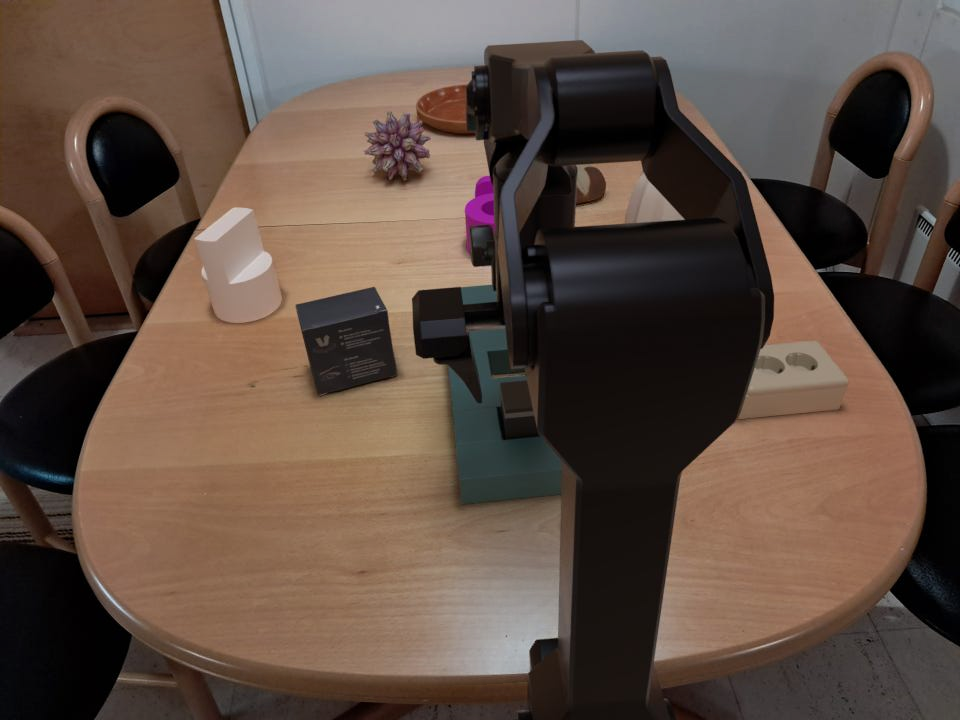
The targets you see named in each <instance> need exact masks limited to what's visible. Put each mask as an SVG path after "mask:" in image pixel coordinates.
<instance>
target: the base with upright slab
mask: <svg viewBox="0 0 960 720" xmlns="http://www.w3.org/2000/svg"><path fill="white" fill-rule="evenodd" d="M194 242H195V245H196V248H197V251H198V254H199V257H200V260H201V263H202V268H201V271H200V272H201V277H202V281H203V283H204V285H205V289H206V292H207V295H208V298H209V300H210V303H211V306H212V309H213V313H214V315H215V316H216V317H217V319H219V320H221V321H223V322H225V323H231V324H243V323H246V324H247V323H251V322H255V321H259V320H261V319H264V318H266V317H268V316H269V315H272V314H273V313H274V312H275V311H277V310H278V309H279V308H280V306H281V304H282V301H283V295H282V292H281V288H280V284H279V281H278V280H279V279H278V277H277V276H278V275H277V273H276V269H275V266H274V261H273V258H272V255H271V254H270V253H269V252H268V251H266V250H265V249H264V245H263V241H262V238H261V234H260V230H259V225H258V223H257V219H256V216H255V212H254V209H252V208H247V207H232V208H230V209H229V210H228V211H227V212H226V213H224V214H223V215H222V216H220V218H218V219H217V220H215V221H214V222H213V223H212V224H211V225H209V226H208V227H207V228H205V229H204V230H203V231H202V232H201V233H199V234H198V235H197V236H196V237H194Z"/></svg>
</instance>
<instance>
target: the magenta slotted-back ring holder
mask: <svg viewBox="0 0 960 720" xmlns="http://www.w3.org/2000/svg"><path fill="white" fill-rule="evenodd" d="M474 188H475V189H474V198H472V199H470V200H469V201H468V202H467V203H466V204H465V206H464V219H465V237H466V250H467V253H468V254H469V255H470V256H471V253H470V238H469V226H477V225H490V226H491V227H492V229H493V233H495V228H494V195H493V185H492V183H491V179H490V175H483V176H481V177H480V178H479V179H478V180H477V181H476V183H475V187H474Z"/></svg>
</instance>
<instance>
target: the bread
mask: <svg viewBox="0 0 960 720" xmlns="http://www.w3.org/2000/svg"><path fill="white" fill-rule="evenodd" d="M576 166H577V170H578V172H577V192H576V205H579V204H581V203H586V202H591V201H595V200H597V199H598V200H599V199H600V198H601V197H602V196H603V195H604V194H605V192H606V189H607V182H606V178H605V176H604V174H603V173H602V171H601V170H600V169H599V168H598V167H596V166H595V167H594V166H592V164H585V165H576Z"/></svg>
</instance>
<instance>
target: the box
mask: <svg viewBox="0 0 960 720" xmlns="http://www.w3.org/2000/svg"><path fill="white" fill-rule="evenodd" d="M295 310H296V315H297V318H298V319H297V320H298V323H299V327H300V330H301V335H302V339H303V344H304V348H305V351H306V355H307V359H308V363H309V368H310V372H311V375H312V379H313V382H314V383H313V384H314V387H315V390H316V392H317V396H319V397H323V396H326V395H327V394H328V393H333V392H336V391H338V392H339V391H342V390H344V389H348V388H352V387H356V386H360V385H364V384H367V383H372V382H374V381H380V380H383V379H387V378H393V377H396V376H397V375H398V370H397V369H398V368H397V364H396V358H395V353H394V347H393V341H392V340H393V339H392V335H391V334H392V333H391V327H390V320H389V312H388V311H389V310H388V309H387V307H386V304H385V303H384V302H383V299H382V297H381V296H380V294H379V292H378V290H377V288H376V286H371V287H366V288H363V289H358V290H353V291H349V292H345V293H341V294H340V293H339V294H336V295H332V296H328V297H322V298H319V299H314V300H310V301H306V302H301V303H296V304H295Z"/></svg>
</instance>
